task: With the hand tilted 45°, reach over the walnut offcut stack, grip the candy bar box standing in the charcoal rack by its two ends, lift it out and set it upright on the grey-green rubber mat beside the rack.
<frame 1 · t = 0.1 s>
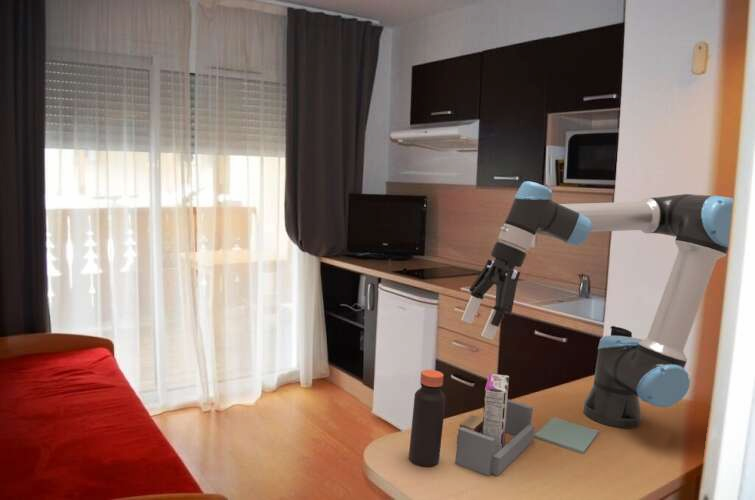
hand: (476, 329, 132), 28 cm above the worktop, tool tilted 20°, fingers open, 13 cm apart
bottle: (423, 460, 125), on the worktop
offcut stack: (470, 441, 136), on the worktop
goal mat: (567, 435, 144), on the worktop
candy bar box: (492, 448, 133), on the worktop
travel mug: (612, 389, 182), on the worktop
rack: (494, 449, 133), on the worktop
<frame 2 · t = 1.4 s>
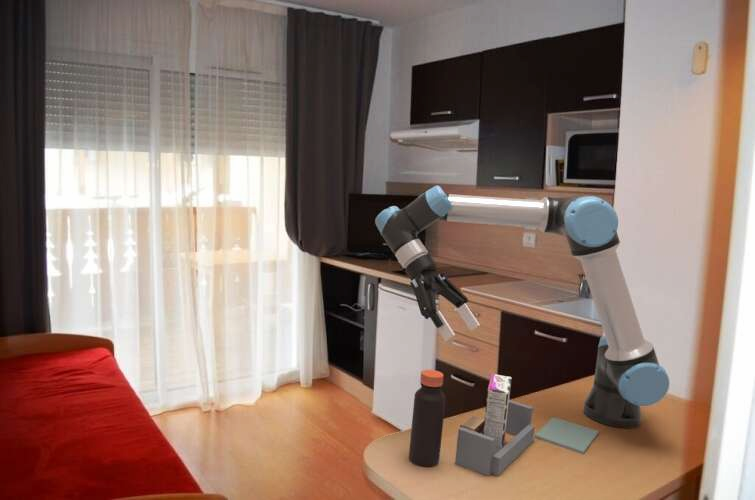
hand: (463, 333, 135), 26 cm above the worktop, tool tilted 45°, fingers open, 13 cm apart
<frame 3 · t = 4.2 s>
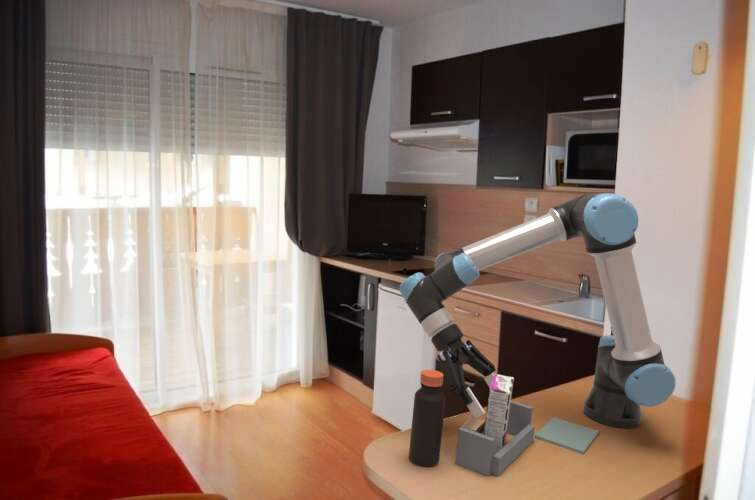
hand: (492, 407, 132), 10 cm above the worktop, tool tilted 45°, fingers open, 13 cm apart
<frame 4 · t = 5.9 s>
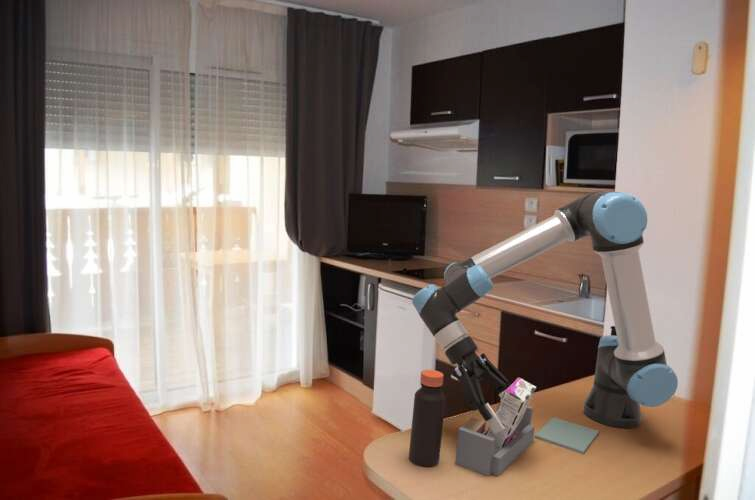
hand: (509, 423, 130), 7 cm above the worktop, tool tilted 45°, fingers closed on candy bar box, 11 cm apart
candy bar box: (494, 447, 133), on the worktop, touching gripper
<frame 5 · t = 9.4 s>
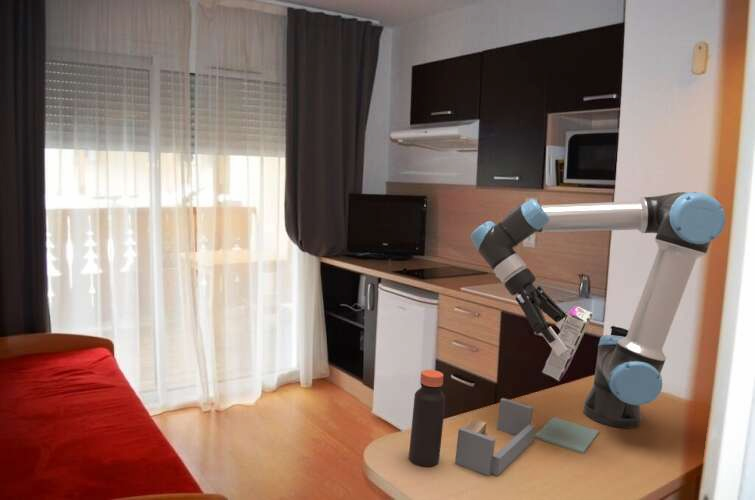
hand: (569, 347, 138), 24 cm above the worktop, tool tilted 45°, fingers closed on candy bar box, 11 cm apart
candy bar box: (553, 371, 140), point 17 cm above the worktop, touching gripper
when the fingers open (10 cm above the worktop, at t = 13.2 s): candy bar box drops 2 cm, resting on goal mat.
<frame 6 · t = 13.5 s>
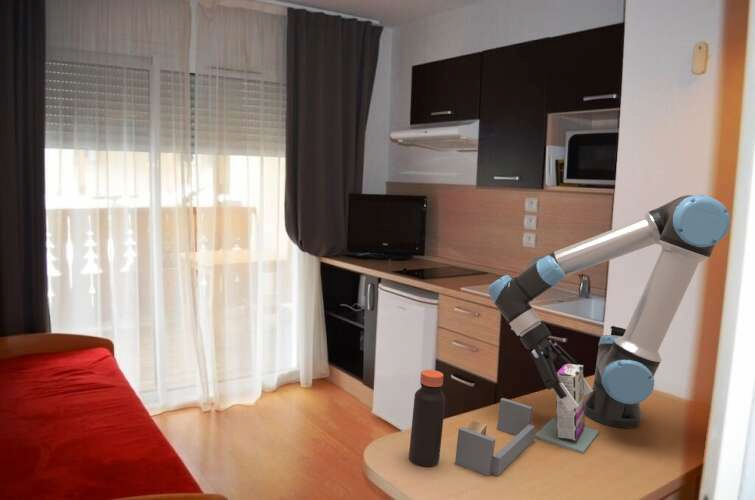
hand: (581, 400, 141), 10 cm above the worktop, tool tilted 45°, fingers open, 13 cm apart
offcut stack: (473, 448, 133), on the worktop
candy bar box: (570, 433, 143), point 1 cm above the worktop, touching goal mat
everything else where it was.
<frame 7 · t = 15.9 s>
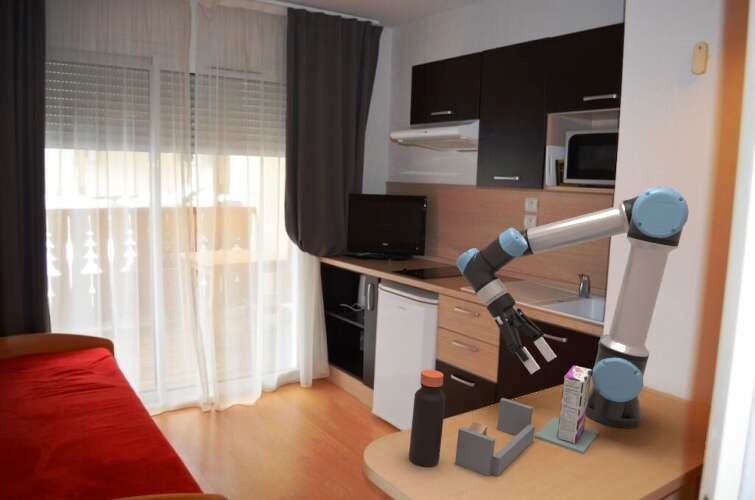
hand: (544, 365, 149), 16 cm above the worktop, tool tilted 45°, fingers open, 13 cm apart
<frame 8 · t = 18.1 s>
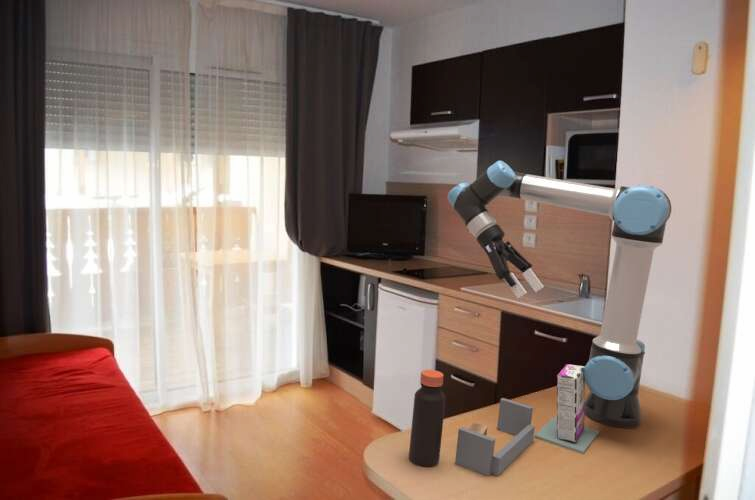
hand: (531, 292, 153), 34 cm above the worktop, tool tilted 45°, fingers open, 13 cm apart
candy bar box: (570, 433, 143), point 1 cm above the worktop, touching arm, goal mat
at the end: candy bar box inside the target area (0.8 cm from its centre), point 0.6 cm above the worktop; candy bar box tilted 6°; the gripper is holding nothing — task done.
